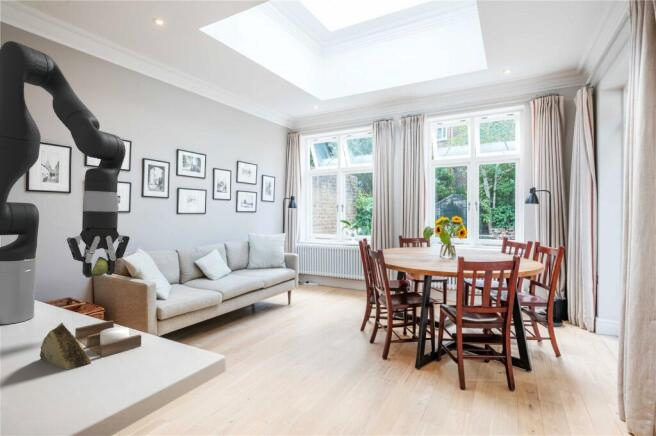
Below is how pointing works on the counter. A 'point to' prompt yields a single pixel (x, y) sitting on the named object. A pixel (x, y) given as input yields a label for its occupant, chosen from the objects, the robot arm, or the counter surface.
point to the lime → (100, 267)
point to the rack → (92, 341)
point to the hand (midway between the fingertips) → (98, 275)
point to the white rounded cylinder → (113, 334)
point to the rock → (63, 349)
